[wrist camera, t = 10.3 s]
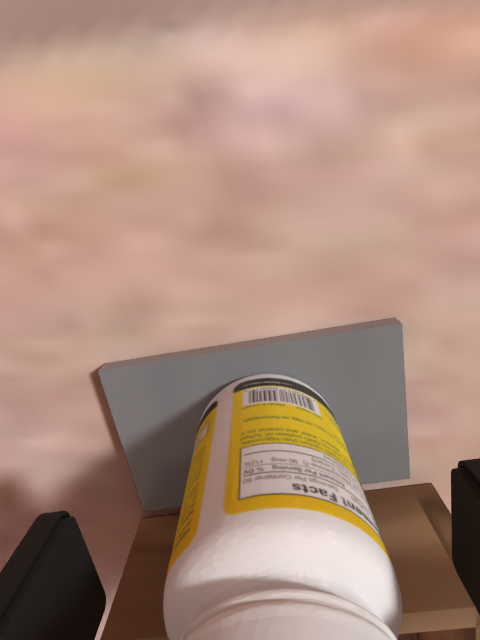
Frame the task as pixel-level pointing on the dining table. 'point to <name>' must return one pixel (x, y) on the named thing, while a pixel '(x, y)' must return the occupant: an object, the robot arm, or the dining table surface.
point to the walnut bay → (401, 543)
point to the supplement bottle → (277, 527)
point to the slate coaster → (253, 359)
